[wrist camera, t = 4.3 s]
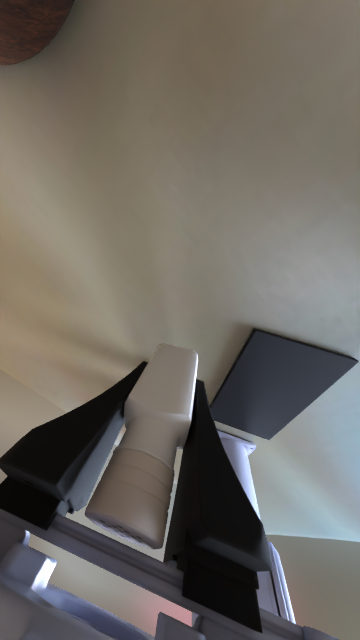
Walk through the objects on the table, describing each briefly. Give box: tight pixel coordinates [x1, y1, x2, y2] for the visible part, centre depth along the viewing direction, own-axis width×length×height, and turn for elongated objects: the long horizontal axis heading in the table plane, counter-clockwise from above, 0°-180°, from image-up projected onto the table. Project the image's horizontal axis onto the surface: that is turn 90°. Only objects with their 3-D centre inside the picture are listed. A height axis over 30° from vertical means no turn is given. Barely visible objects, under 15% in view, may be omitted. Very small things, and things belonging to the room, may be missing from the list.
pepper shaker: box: [85, 344, 198, 549], centre depth 9 cm, size 4×4×10 cm
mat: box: [210, 328, 359, 440], centre depth 18 cm, size 18×11×1 cm, turn 167°
